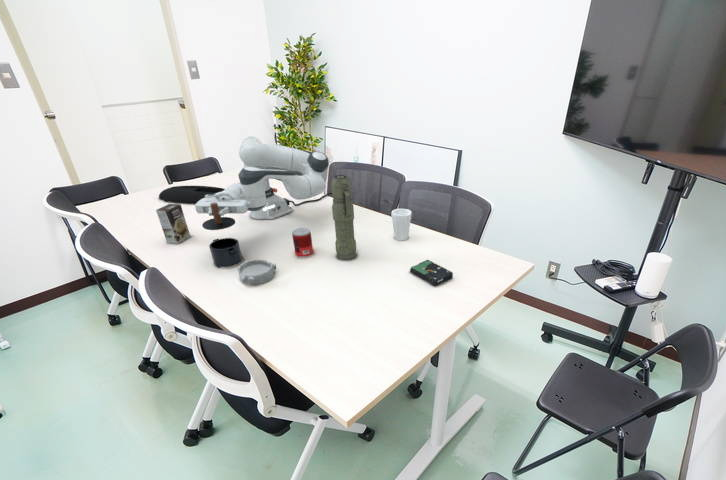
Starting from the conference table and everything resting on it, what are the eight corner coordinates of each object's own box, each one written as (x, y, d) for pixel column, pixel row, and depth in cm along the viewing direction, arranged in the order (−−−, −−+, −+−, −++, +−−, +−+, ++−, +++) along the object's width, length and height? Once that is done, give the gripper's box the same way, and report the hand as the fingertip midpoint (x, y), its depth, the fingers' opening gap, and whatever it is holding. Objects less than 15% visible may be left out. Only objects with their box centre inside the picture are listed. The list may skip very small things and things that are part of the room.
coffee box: (178, 244, 181) (167, 211, 172) (166, 243, 182) (154, 209, 173) (191, 236, 189) (181, 204, 180) (179, 235, 190) (169, 203, 181)
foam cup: (413, 235, 191) (414, 210, 184) (406, 243, 184) (406, 217, 177) (396, 232, 195) (396, 207, 187) (388, 239, 188) (388, 213, 180)
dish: (255, 290, 149) (253, 279, 146) (231, 280, 155) (228, 269, 152) (283, 274, 159) (281, 263, 156) (260, 265, 165) (258, 254, 162)
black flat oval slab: (175, 188, 248) (172, 181, 245) (235, 192, 244) (233, 184, 241) (149, 202, 228) (146, 193, 225) (213, 206, 223) (211, 197, 220)
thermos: (345, 263, 167) (339, 182, 147) (331, 254, 174) (322, 175, 155) (362, 257, 172) (358, 178, 152) (347, 248, 179) (341, 171, 160)
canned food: (316, 251, 176) (313, 228, 170) (307, 259, 170) (304, 235, 164) (301, 248, 178) (298, 226, 172) (292, 256, 172) (288, 233, 166)
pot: (232, 251, 176) (227, 233, 171) (250, 263, 166) (246, 245, 162) (207, 259, 169) (201, 241, 164) (225, 273, 159) (220, 254, 155)
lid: (233, 217, 165) (228, 196, 160) (237, 228, 156) (232, 206, 151) (201, 222, 160) (195, 201, 155) (204, 233, 151) (197, 211, 146)
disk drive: (452, 278, 158) (427, 264, 167) (453, 272, 156) (427, 258, 165) (435, 287, 152) (409, 272, 161) (435, 281, 150) (409, 266, 159)
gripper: (253, 209, 168) (243, 221, 157) (206, 208, 168) (192, 221, 156) (250, 194, 165) (239, 206, 153) (202, 194, 164) (187, 206, 153)
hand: (215, 213), depth 155 cm, fingers closed on lid, 2 cm apart
